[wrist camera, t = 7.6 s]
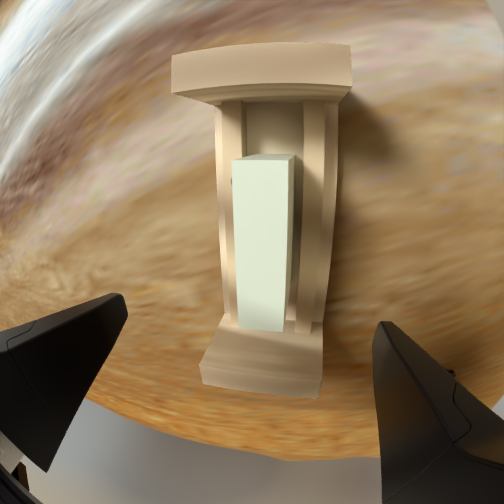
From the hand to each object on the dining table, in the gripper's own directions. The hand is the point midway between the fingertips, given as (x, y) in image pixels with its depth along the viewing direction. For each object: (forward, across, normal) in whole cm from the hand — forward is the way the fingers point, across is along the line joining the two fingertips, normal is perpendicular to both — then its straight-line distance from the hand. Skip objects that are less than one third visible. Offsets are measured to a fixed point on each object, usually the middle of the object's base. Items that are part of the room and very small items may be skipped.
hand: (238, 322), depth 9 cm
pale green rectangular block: (+11, 0, 0) cm, 11 cm away
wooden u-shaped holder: (+12, 0, 0) cm, 12 cm away
